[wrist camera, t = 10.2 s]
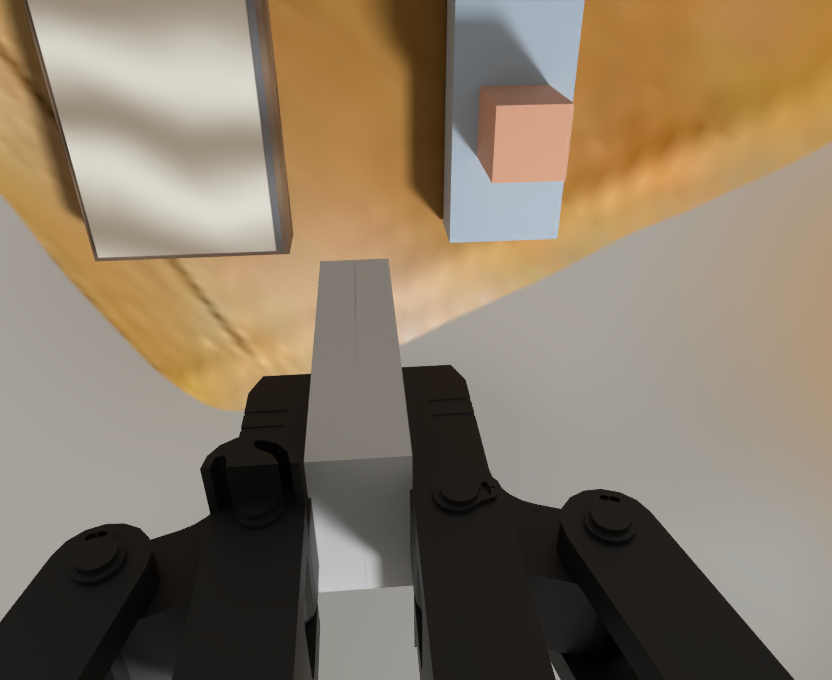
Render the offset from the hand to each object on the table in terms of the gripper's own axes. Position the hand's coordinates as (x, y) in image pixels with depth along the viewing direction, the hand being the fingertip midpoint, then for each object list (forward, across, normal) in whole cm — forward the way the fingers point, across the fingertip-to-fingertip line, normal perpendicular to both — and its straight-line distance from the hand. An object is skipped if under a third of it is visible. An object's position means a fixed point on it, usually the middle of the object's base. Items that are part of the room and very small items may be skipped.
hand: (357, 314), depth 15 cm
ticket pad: (+29, -10, -2) cm, 31 cm away
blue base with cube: (+29, +9, -2) cm, 31 cm away
